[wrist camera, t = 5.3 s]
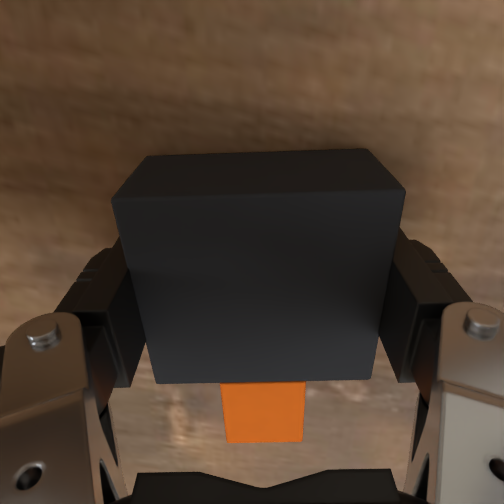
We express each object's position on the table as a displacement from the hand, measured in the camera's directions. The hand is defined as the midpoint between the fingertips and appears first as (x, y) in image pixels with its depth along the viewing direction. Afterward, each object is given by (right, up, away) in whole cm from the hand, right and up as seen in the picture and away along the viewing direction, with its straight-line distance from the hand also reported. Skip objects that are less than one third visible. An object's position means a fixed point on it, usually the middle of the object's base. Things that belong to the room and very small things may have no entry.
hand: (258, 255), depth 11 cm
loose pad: (0, -1, +1) cm, 2 cm away
